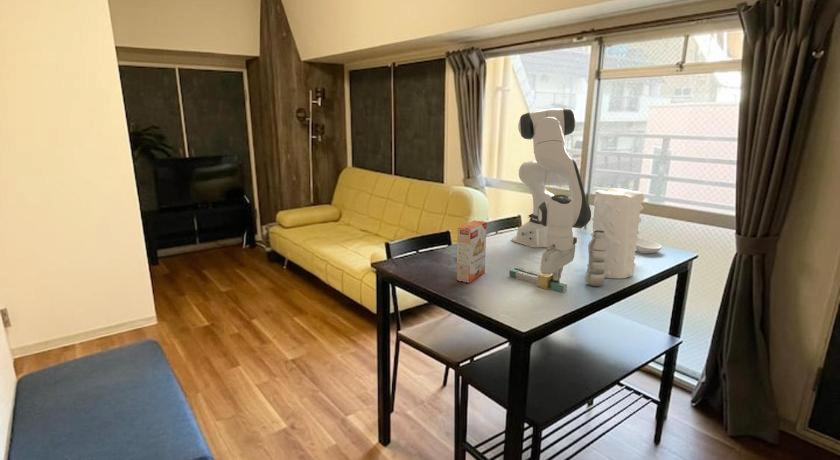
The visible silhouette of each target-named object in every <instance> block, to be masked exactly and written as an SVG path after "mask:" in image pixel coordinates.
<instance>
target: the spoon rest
mask: <svg viewBox="0 0 840 460" xmlns="http://www.w3.org/2000/svg"><path fill="white" fill-rule="evenodd" d="M637 239H638V241H637V242H636V249H637V250H636V251H637V252H638V253H641V254H645V255H651V254H656V253H657V252H659V251H660V250H662V248H663V246H662V245H661V244H660V243H657V242H655V241H652V240H649V239H645V238H643V237H640V236H638V235H637Z"/></svg>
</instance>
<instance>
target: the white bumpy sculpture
mask: <svg viewBox="0 0 840 460" xmlns="http://www.w3.org/2000/svg"><path fill="white" fill-rule="evenodd" d="M643 201H645V196H644V194H643V192H642V191H639V190H631V189H627V188H622V187H621V188H619V187H617V188H616V187H610V188H608V190H603V189H596V190H595V192H594V199H593V217H591V219H592V232H591V233H590V236H591V240H592V239H593V238H594V237H593V232H594V231H595V230H600V231H604V232H605V237H604V240H605V241H606V243H607V245H608V249H607V253H606V257H605V263H604V274H605V278H609V279H626V278H629V277H632V276H633V275H634V268H635V266H636V263H635V259H636V255H635V254H636V251H637V249H636V242H637V241H638V239H637V236H638V235H639V234H640V231H639V224H640V223H641V222H642V218H641V217H640V215H641V211H643V210H644V209H645V207H644V206H643V205H642V202H643ZM586 266H587V268H588V263H587V265H586Z"/></svg>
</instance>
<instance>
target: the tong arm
mask: <svg viewBox="0 0 840 460" xmlns="http://www.w3.org/2000/svg"><path fill="white" fill-rule="evenodd" d="M513 269H515V270H519V271H521V272H525V273H528V274H532V275H535V276H538V274H540V272H537V271H533V270H529V269H526V268H523V267H520V266H516V267H513Z"/></svg>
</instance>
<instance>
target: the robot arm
mask: <svg viewBox="0 0 840 460" xmlns="http://www.w3.org/2000/svg"><path fill="white" fill-rule="evenodd" d="M576 125H577V117H576V114H575V111H574V110H573V109H572V108H566V107H563V108H549V109H548V108H547V109H543V110H538V111H534V112H526V113H524V114H522V115H521V116H520V117H519V121H518V125H517V126H518V132H519V134H520V137H521V138H523V139H525V140H533V141H532V143H533V153H534V158H535V160H530V161H526V162H525V161H524V162H523V163H522V164H521V165H520V166H519V169H518V177H519V179H520V181H521V183H523V184H524V185H525V186H526V187H527V189H529V191H530V194H531V195H532V205H533V207H532V213H531V214H527V216H528V217H527V219H529V220H528V221H527V222H526V223H525V222H524V224H522V225H521V226H519V227H518V229H517V232H516V235H515V236H513V237H511V241H512V242H515V243H518V244H521V245H525V246H527V247H530V248H533V249H534V248H546V249H545V250H544V251H543V253H542V255H541V261H540V272H541V273H543V274H548V275H550V274H553V280H558V279H560V280H561V278H562V272H563V270H564V267H565V266H566V265H568V264H570V263H571V262H573V261H574V258H575V253H576V244H577V242H578V237H576V236H573V235H574V232H573V228H575V229H577V228H578V229H583V228H584V227H586V225H588V223H589V222H591V219H592V212H591V211H592V210H591V207H590V204H589V202H588V199H587V197H586V193H585V189H584V186H583V185H584V184H583V182H582V178H581V175H580V170H579V167H578V165H577V163H576V161H575V159H574V158H572V157H571V156H570V155H569V153H568V152H567V150H566V146H565V138H564V136H569V135H570V134H572V133H573V132H575V128H576V127H577V126H576ZM546 186H554V187H555V186H558V187H561V186H562V187H563V186H568V189H569V191H570V196H568V195H565V194H554V193H553V192H550V191H548V189H547V188H546Z"/></svg>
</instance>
